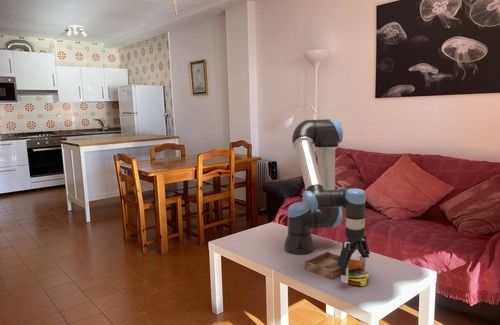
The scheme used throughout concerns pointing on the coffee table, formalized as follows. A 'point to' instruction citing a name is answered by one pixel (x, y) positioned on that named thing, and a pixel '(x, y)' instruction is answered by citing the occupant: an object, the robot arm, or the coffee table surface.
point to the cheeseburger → (357, 273)
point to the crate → (325, 265)
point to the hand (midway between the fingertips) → (353, 277)
